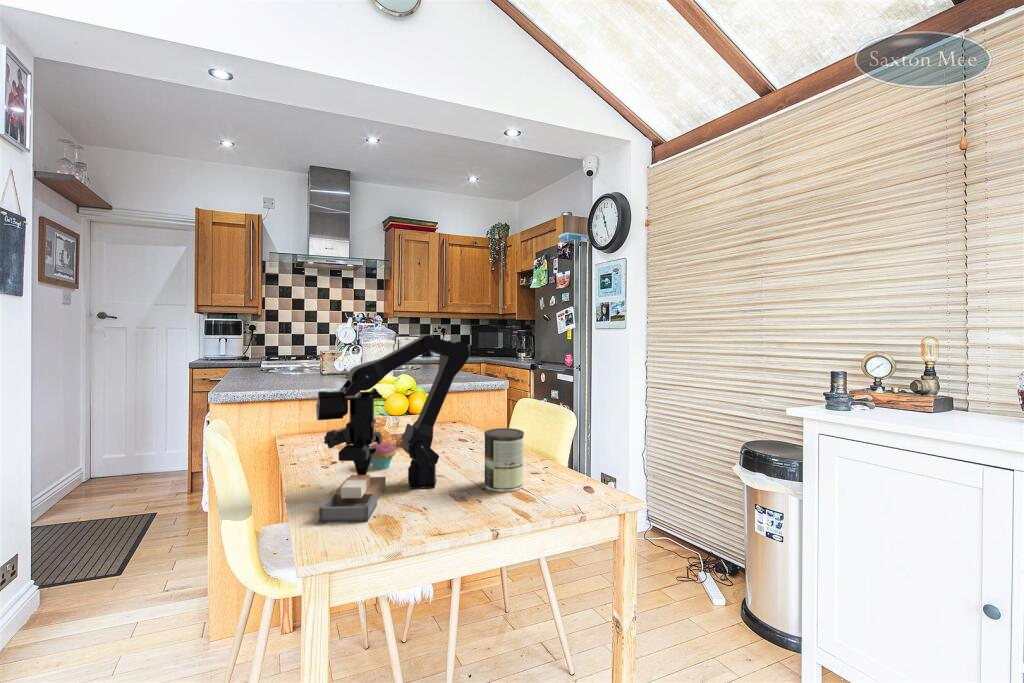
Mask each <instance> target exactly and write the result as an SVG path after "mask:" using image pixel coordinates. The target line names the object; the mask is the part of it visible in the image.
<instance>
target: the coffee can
mask: <svg viewBox="0 0 1024 683" xmlns="http://www.w3.org/2000/svg"><path fill="white" fill-rule="evenodd" d="M483 435H484V488H485V489H487V491H488V490H489V491H491V492H496V493H511V492H515V491H516V492H517V491H519V490H520V489H522V488H524V436H525V432H524V431H523V430H521V429H517V428H510V427H509V428H508V427H506V428H505V427H502V428H500V427H499V428H491V429H490V428H489V429H488V430H485V431H484V433H483Z"/></svg>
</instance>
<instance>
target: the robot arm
mask: <svg viewBox="0 0 1024 683" xmlns="http://www.w3.org/2000/svg"><path fill="white" fill-rule="evenodd" d="M427 352H431V353H433V354H436V355H439V358H438V370H437V374H436V376H435V378H434V380H433V383H432V384H431V387H430V390H429V392H428V394H427V396H426V398H425V400H424V403H423V406H422V408H421V411H420V413H419V415H418V418H417V419H416V421H414V423H412V424H410V423H406V426H405V429H404V432H403V434H402V435H401V436H400V438H401V439H402V440H401V447H402V449H403V451H404V452H405V453H406V454H408V457H409V458H410V459H411V461H410V465H409V466H408V469H407V476H408V477H407V482H408V484H409V486H408V487H409V489H419V488H420V489H424V488H425V489H434V488H436V484H437V481H438V479H437V477H436V476H437V474H436V473H437V470H436V469H437V464H438V461H439V459H440V455H439V454H438V453H437V452H436V451H435V450H433V449H432V444H433V441H434V440H433V438H434V426H435V423H436V422H437V420H438V416H439V414H440V412H441V409H442V407H443V405H444V403H445V400H446V398H447V395H448V393H449V390H450V388H451V386H452V383H453V380H454V379H455V377H456V376H457V375H458V373H459V372H461V370H462V369H463V368H464V366H465V364H466V363H467V362H468V360H469V358H470V356H471V350H470V348H469V346H468V345H467V343H465V342H463V341H456V340H454V341H453V340H451V341H448V340H444V339H441V338H437V337H435V336H433V335H430V334H422V335H420V336H419V337H418V338H416V339H414V340H412V341H411V342H409V343H407V344H405V345H403V346H401V347H399V348H397V349H396V350H394V351H392V352H390V353H388V354H386V355H384V356H382V357H381V358H378V359H375V360H372V361H368V362H364V363H361V364H358V365H355V366H353V367H352V368H351V369H350V370H349V371H348V375H347V380H346V381H345V383H344V384H343V385H342V387H341V388H339V390H338V391H336V390H335V391H326V390H325V391H324V390H319V391H318V392H317V398H316V404H315V406H316V407H315V410H316V419H317V420H316V421H328V420H329V421H330V420H341V419H342V420H343V418H344V417H345V416H346V415H348V413H349V421H348V422H347V423H346V424H345V427H342V428H339V429H337V430H336V429H332V430H331V431H330V430H329V431H327V432H325V433H326V434H325V436H324V437H323V439H324V440H323V443H324V445H327V448H328V449H329V450H330V449H333V448H334V447H335V446H339V445H341V444H344V443H345V445H344V447H342V448H341V450H339V452H338V461H340V462H353V464H354V466H355V470H356V475H368V471H369V469H370V467H371V466H372V464H371V462H372V460H373V457H374V455H375V453H376V451H377V449H376V448H371V446H372V445H373V443H376V444H381V443H383V434H382V433H380V432H379V431H377V432H375V425H376V424H377V423H376V422H377V419H375V399H376V400H377V399H382V398H383V395H382V394H380V392H379V391H378V390H377V388H375V386H376V385H377V384H378V383H380V382H381V381H382V380H383V379H384V378H385V377H386V376H387V375H388V374H389V373H391V372H392V371H394V370H396V369H398V368H399V367H401V366H403V365H405V364H407V363H409V362H410V361H413V360H414V359H416V358H418V357H420V356H421V355H423V354H425V353H427ZM369 390H370V391H369ZM348 411H349V412H348Z"/></svg>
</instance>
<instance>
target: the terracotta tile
mask: <svg viewBox="0 0 1024 683" xmlns="http://www.w3.org/2000/svg"><path fill="white" fill-rule="evenodd" d="M370 477H371V474H366V475H358V474H351V475H350V476H349V478H348V477H347V478H348V479H347V478H346V479H347V480H366V490H367V488H368V487H369V486H370Z"/></svg>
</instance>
